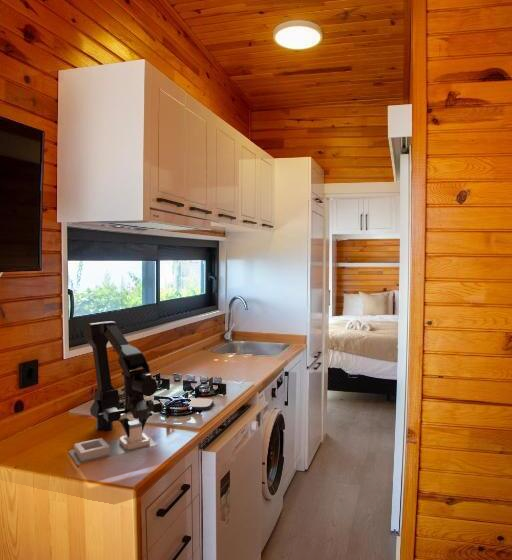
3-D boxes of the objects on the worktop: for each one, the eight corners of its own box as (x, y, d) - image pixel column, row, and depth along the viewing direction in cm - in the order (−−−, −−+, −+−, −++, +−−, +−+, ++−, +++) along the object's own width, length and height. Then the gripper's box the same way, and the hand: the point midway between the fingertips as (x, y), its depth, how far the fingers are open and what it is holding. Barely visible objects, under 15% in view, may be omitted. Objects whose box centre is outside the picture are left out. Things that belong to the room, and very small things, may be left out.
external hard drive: (153, 410, 202) (152, 405, 202) (161, 401, 214) (161, 397, 213) (209, 412, 200) (209, 407, 199) (214, 403, 211) (214, 398, 211)
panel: (68, 453, 159) (67, 443, 159) (145, 436, 173) (145, 426, 173) (77, 467, 149) (77, 456, 149) (158, 447, 163) (158, 437, 163)
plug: (126, 442, 165) (126, 421, 165) (138, 439, 168) (137, 419, 167) (130, 446, 162) (130, 425, 162) (142, 443, 164) (141, 423, 164)
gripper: (112, 401, 152) (114, 450, 153) (169, 390, 162) (169, 437, 163) (102, 392, 161) (103, 438, 162) (156, 383, 171) (157, 427, 172)
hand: (134, 435), depth 165 cm, fingers closed on plug, 4 cm apart
